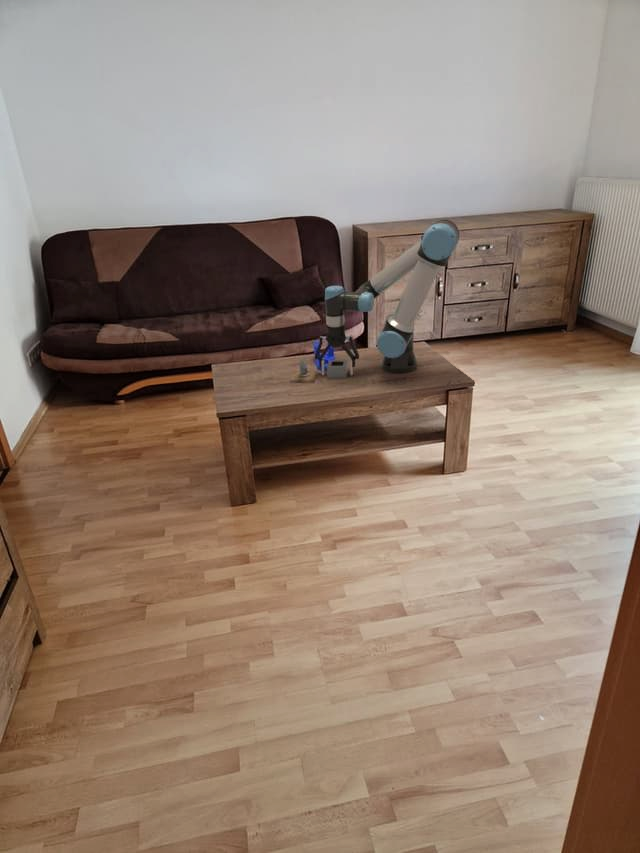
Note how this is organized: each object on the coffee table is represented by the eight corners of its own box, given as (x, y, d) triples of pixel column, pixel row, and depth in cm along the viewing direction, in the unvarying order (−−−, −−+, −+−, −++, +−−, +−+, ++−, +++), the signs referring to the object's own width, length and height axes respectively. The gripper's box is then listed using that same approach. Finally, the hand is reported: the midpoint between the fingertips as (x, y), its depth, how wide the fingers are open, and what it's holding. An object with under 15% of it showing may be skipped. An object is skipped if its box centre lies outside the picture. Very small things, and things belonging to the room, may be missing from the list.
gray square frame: (348, 371, 245) (347, 360, 243) (346, 378, 238) (345, 367, 236) (329, 371, 247) (329, 360, 244) (327, 378, 239) (326, 367, 237)
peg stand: (317, 373, 245) (316, 355, 241) (314, 382, 236) (312, 364, 232) (294, 373, 246) (293, 355, 242) (290, 382, 237) (289, 364, 234)
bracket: (314, 358, 263) (313, 339, 258) (332, 356, 263) (331, 338, 259) (318, 372, 247) (317, 352, 242) (337, 370, 247) (336, 351, 243)
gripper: (365, 321, 234) (366, 370, 244) (308, 322, 238) (311, 370, 247) (363, 326, 227) (364, 377, 237) (305, 327, 231) (308, 377, 241)
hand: (337, 374), depth 242 cm, fingers open, 11 cm apart
